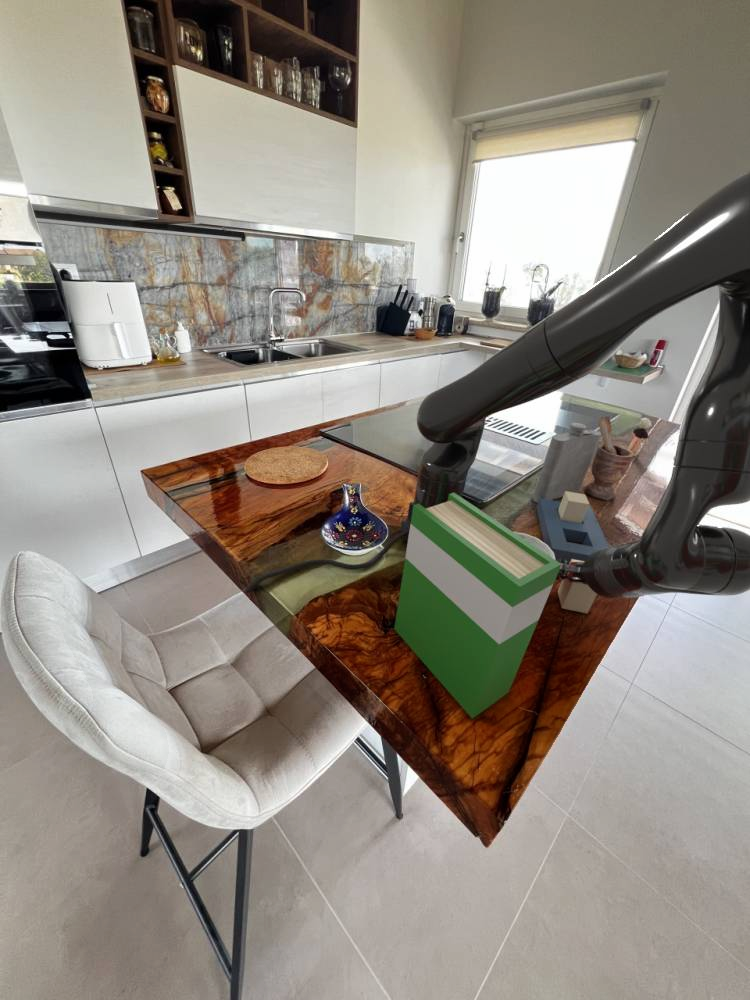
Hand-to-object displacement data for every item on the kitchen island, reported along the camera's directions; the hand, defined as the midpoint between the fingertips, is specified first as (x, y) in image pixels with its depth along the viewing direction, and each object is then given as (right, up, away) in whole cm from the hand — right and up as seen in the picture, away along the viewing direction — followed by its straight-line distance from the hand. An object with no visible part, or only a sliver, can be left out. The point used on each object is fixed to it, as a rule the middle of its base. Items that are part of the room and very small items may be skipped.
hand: (578, 578), depth 75 cm
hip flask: (+11, +15, +36) cm, 40 cm away
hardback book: (-26, -10, -12) cm, 30 cm away
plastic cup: (-14, -4, 0) cm, 14 cm away
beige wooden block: (+8, +8, +23) cm, 26 cm away
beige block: (-1, -5, +1) cm, 5 cm away
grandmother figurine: (+50, +30, +65) cm, 88 cm away
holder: (+7, +6, +19) cm, 22 cm away
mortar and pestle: (+23, +17, +40) cm, 49 cm away
